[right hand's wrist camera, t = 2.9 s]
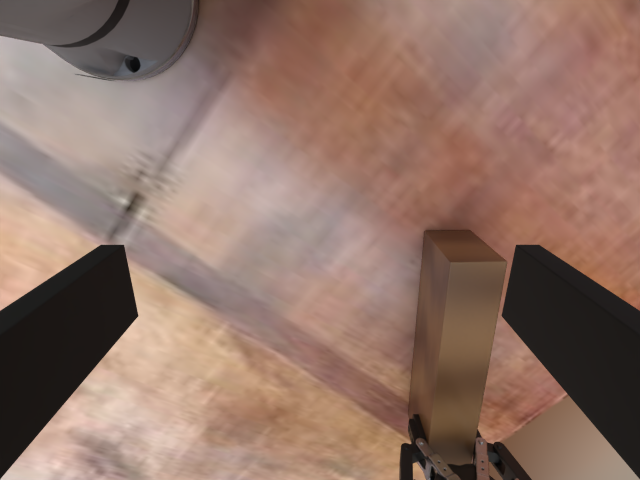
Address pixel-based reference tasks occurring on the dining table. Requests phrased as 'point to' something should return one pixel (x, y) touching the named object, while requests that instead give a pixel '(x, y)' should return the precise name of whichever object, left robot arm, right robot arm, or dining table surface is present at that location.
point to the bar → (454, 339)
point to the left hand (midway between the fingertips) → (438, 419)
